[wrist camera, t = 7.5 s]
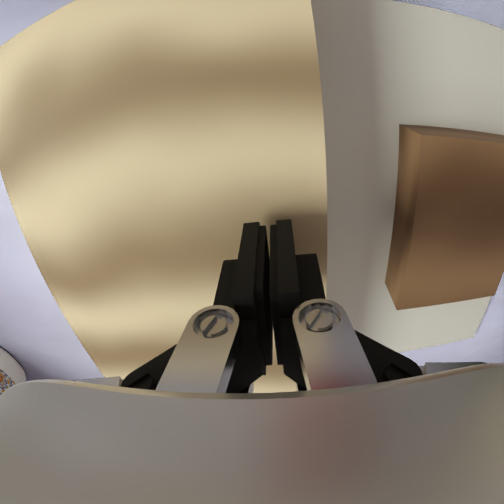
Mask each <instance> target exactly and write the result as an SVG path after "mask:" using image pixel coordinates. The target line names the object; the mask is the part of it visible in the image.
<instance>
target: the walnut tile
mask: <svg viewBox="0 0 504 504" xmlns="http://www.w3.org/2000/svg"><path fill="white" fill-rule="evenodd" d="M503 271H504V135H499V134H493V133H486V132H479V131H472V130H464V129H455V128H445V127H434V126H421V125H404V124H399V154H398V174H397V189H396V201H395V211H394V221H393V230H392V238H391V245H390V252H389V259H388V266H387V272H386V278H385V284H386V287H387V289H388V291H389V293H390V296H391V298H392V300H393V303H394V305H395V308H396V310H403V309H411V308H419V307H426V306H433V305H440V304H447V303H453V302H459V301H465V300H471V299H477V298H483V297H488V296H494V295H495V292H496V290H497V287H498V285H499V282H500V280H501V277H502V274H503Z"/></svg>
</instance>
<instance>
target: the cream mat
mask: <svg viewBox="0 0 504 504" xmlns="http://www.w3.org/2000/svg"><path fill="white" fill-rule="evenodd" d="M311 7H312V13H313V20H314V28H315V35H316V43H317V52H318V61H319V70H320V81H321V92H322V104H323V118H324V133H325V152H326V177H327V289H326V299H328V300H331V301H334V302H336V303H338V304H339V305H341V306H342V307H343V309H344V310H345V311H346V313H347V316H348V318H349V320H350V322H351V324H352V326H353V328H354V330H356V331H358V332H360V333H362V334H363V335H365V336H367V337H369V338H371V339H373V340H375V341H377V342H378V343H380V344H382V345H384V346H386V347H388V348H390V349H392V350H394V351H396V352H404V351H410V350H415V349H421V348H426V347H432V346H437V345H442V344H446V343H451V342H456V341H460V340H465V339H469V338H473V337H474V335H475V333H476V331H477V329H478V327H479V325H480V322H481V320H482V318H483V316H484V313H485V311H486V309H487V306H488V304H489V302H490V299H491V297H492V296H488V297H483V298H477V299H471V300H465V301H459V302H453V303H447V304H440V305H433V306H426V307H419V308H411V309H403V310H396V308H395V305H394V303H393V300H392V298H391V296H390V293H389V291H388V289H387V287H386V284H385V278H386V272H387V266H388V259H389V252H390V245H391V238H392V230H393V221H394V211H395V201H396V189H397V174H398V154H399V124H404V125H421V126H434V127H445V128H455V129H464V130H472V131H479V132H486V133H493V134H499V135H504V30H503V29H501V28H498V27H496V26H493V25H490V24H487V23H484V22H481V21H478V20H475V19H472V18H469V17H466V16H462V15H459V14H455V13H451V12H447V11H443V10H439V9H435V8H431V7H426V6H421V5H416V4H411V3H405V2H399V1H392V0H311Z"/></svg>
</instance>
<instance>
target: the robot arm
mask: <svg viewBox="0 0 504 504" xmlns="http://www.w3.org/2000/svg"><path fill="white" fill-rule="evenodd" d="M273 330H274V339H275V348H276V356H277V365H283V371H284V374H285V375H286V376H287V377H289V378H290V379H291V380H293V381H294V382H296V391H294V392H275V393H253V390H254V383H253V382H254V381H256V380H257V379H258V378H260V377H261V376H262V375H266V366H270V365H272V364H273ZM0 504H504V363H484V362H445V363H441V362H426V363H425V365H424V366H418V365H417V364H416V363H415V362H413V361H412V360H411V359H409V358H407V357H405V356H403V355H401V354H399V353H397V352H396V351H394V350H392V349H390V348H388V347H386V346H384V345H382V344H380V343H378V342H377V341H375V340H373V339H371V338H369V337H367V336H365V335H363V334H362V333H360V332H358V331H356V330H354V328H353V326H352V324H351V322H350V320H349V318H348V316H347V313H346V311H345V310H344V309H343V307H342V306H341V305H339V304H338V303H336V302H334V301H331V300H328V299H326V297H325V292H324V287H323V282H322V277H321V272H320V268H319V263H318V258H317V254H316V253H312V254H299V255H295V246H294V238H293V230H292V221H291V219H286V220H276V224H275V225H270V257H269V249H268V240H267V232H266V225H263V226H260V223H259V222H251V223H244V224H243V230H242V236H241V242H240V248H239V253H238V259H233V260H224V261H223V264H222V268H221V273H220V277H219V281H218V286H217V290H216V294H215V299H214V303H213V305H212V306H208V307H205V308H203V309H201V310H199V311H197V312H196V313H195V314H193V315H192V317H191V318H190V319H189V321H188V323H187V325H186V327H185V329H184V331H183V333H182V335H181V337H180V339H179V341H178V343H177V344H176V345H174V346H172V347H171V348H169V349H168V350H166V351H165V352H163V353H161V354H160V355H158V356H157V357H155V358H153V359H152V360H150V361H149V362H147V363H145V364H144V365H142V366H140V367H139V368H137V369H136V370H134V371H132V372H131V373H130V374H129V375H127V376H126V377H125V379H121V377H120V376H115V377H105V378H95V379H83V380H71V381H69V380H56V379H42V380H31V381H26V382H21V383H19V384H16V385H13V386H11V387H9V388H8V389H6V390H5V391H4V392H3V393H2V394H1V395H0Z"/></svg>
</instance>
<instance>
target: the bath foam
mask: <svg viewBox="0 0 504 504" xmlns="http://www.w3.org/2000/svg"><path fill="white" fill-rule="evenodd" d="M25 380H26V375H25V372H24V370H23V368H22V367H21V366H20V364H19V363H18V362H17V361H16V360H15V359H14V358H13V357H12V356H11V355H10V354H9V353H7V352H6V351H5V350H3V349H2V348H0V395H1V394H2V393H3V392H4V391H5V390H6V389H8V388H9V387H11V386H13V385H16V384H19V383H21V382H25Z"/></svg>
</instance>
